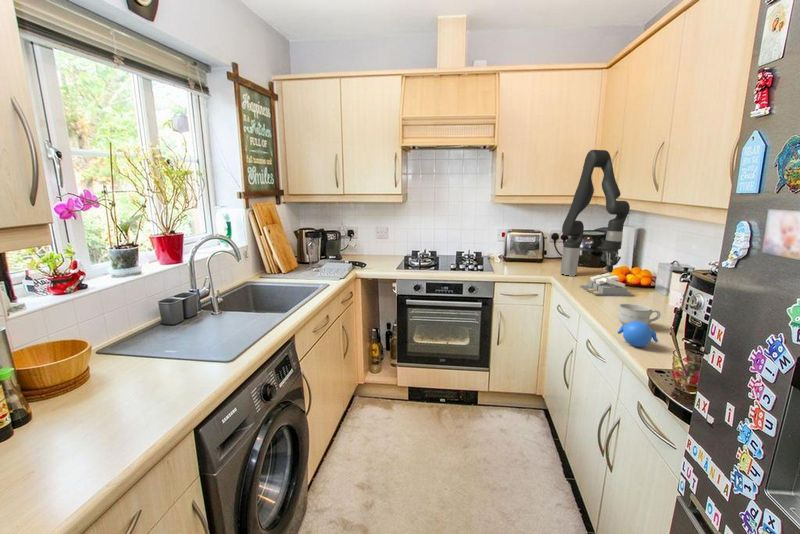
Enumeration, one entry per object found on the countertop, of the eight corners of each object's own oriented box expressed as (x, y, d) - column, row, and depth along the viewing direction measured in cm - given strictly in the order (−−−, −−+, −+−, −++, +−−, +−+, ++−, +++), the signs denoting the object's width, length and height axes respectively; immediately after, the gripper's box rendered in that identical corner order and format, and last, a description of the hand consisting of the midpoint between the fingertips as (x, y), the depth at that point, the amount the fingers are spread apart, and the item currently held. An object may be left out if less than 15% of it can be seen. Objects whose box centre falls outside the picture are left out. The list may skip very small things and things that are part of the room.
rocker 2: (595, 282, 202) (595, 279, 202) (614, 278, 202) (614, 274, 201) (599, 284, 199) (599, 281, 198) (618, 279, 198) (618, 276, 198)
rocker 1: (590, 280, 208) (590, 277, 207) (609, 275, 207) (608, 272, 207) (594, 281, 204) (593, 278, 204) (613, 277, 204) (612, 274, 203)
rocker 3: (601, 280, 196) (602, 277, 196) (619, 285, 197) (621, 282, 197) (605, 282, 193) (606, 278, 192) (624, 287, 193) (625, 284, 193)
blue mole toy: (658, 343, 135) (662, 320, 133) (655, 354, 126) (659, 329, 124) (619, 334, 142) (622, 312, 140) (613, 344, 133) (617, 321, 131)
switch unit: (579, 287, 209) (580, 277, 208) (614, 287, 210) (616, 278, 209) (595, 295, 193) (597, 285, 192) (633, 296, 193) (635, 286, 192)
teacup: (615, 326, 150) (617, 307, 148) (617, 319, 159) (620, 300, 157) (658, 335, 142) (661, 314, 141) (658, 326, 151) (661, 306, 150)
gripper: (600, 237, 208) (596, 269, 211) (613, 241, 195) (609, 274, 198) (613, 238, 208) (609, 269, 211) (628, 241, 195) (623, 275, 198)
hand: (609, 272), depth 205 cm, fingers closed
